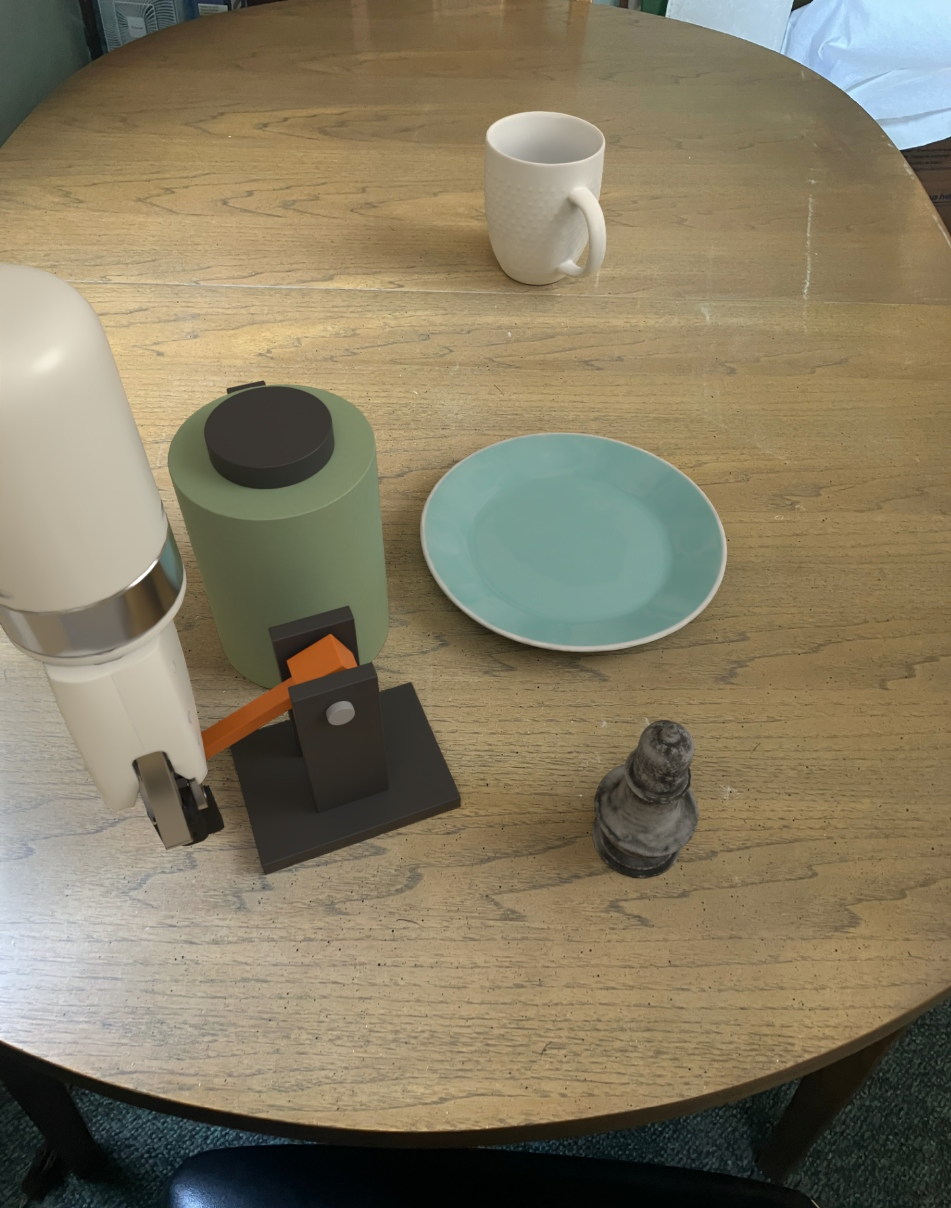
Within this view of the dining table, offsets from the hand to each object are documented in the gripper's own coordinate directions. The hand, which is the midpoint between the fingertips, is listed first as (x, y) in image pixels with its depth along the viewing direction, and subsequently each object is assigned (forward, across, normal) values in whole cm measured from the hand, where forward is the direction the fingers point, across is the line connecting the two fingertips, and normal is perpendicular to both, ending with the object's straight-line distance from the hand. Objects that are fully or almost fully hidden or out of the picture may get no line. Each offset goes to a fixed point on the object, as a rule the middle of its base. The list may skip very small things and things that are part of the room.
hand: (184, 787), depth 53 cm
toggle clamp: (+5, 0, +9) cm, 10 cm away
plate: (+5, -12, +30) cm, 32 cm away
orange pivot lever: (-3, 0, +5) cm, 6 cm away
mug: (+5, -48, +44) cm, 65 cm away
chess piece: (+5, +10, +24) cm, 26 cm away
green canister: (+5, -12, +10) cm, 16 cm away
